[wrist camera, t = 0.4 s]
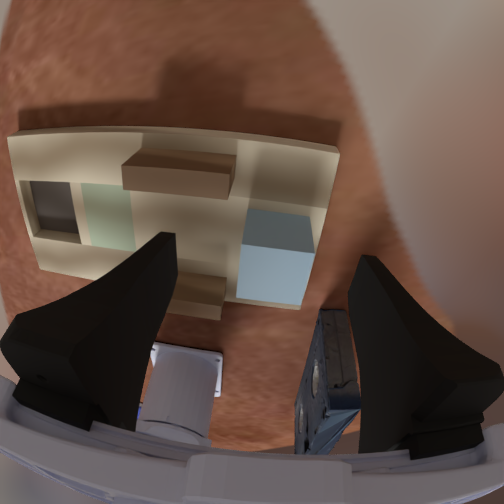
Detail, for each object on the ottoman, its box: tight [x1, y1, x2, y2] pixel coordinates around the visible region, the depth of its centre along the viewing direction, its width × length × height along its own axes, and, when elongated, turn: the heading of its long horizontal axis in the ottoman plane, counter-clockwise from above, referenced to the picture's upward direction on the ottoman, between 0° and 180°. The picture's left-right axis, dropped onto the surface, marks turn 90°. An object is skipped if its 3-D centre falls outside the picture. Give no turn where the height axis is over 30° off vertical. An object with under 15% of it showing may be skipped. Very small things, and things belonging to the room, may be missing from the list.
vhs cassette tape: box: [295, 309, 361, 455], centre depth 29 cm, size 18×3×10 cm, turn 177°
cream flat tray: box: [7, 126, 340, 321], centre depth 21 cm, size 13×24×4 cm, turn 84°
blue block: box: [236, 209, 315, 305], centre depth 20 cm, size 4×4×4 cm
